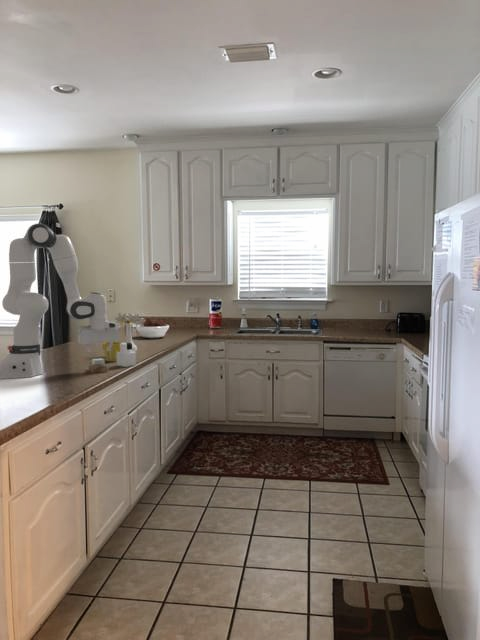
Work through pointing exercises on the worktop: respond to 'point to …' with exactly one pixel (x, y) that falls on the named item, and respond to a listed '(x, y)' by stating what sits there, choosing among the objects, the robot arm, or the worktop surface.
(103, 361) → the cube
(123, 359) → the medicine bottle
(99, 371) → the block
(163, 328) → the white bowl
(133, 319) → the flower vase
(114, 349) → the plant pot
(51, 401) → the worktop surface
